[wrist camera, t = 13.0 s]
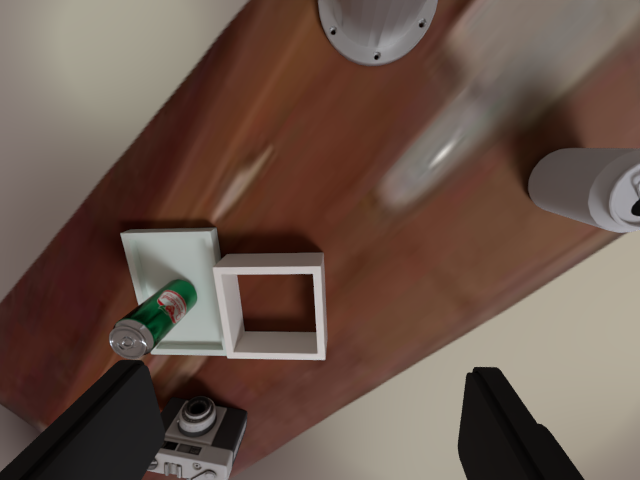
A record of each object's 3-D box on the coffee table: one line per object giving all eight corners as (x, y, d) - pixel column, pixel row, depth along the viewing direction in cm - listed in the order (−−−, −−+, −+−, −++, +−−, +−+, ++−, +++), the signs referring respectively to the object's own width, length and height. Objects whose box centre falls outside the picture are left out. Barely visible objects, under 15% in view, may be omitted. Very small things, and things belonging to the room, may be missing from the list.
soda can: (205, 299, 45) (157, 352, 33) (180, 312, 46) (125, 368, 34) (186, 272, 44) (129, 317, 32) (160, 286, 45) (96, 334, 33)
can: (538, 221, 38) (621, 253, 27) (513, 171, 36) (589, 183, 25) (599, 188, 36) (716, 208, 25) (576, 134, 35) (689, 129, 23)
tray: (130, 229, 43) (120, 233, 41) (216, 227, 42) (210, 231, 40) (158, 346, 49) (151, 354, 47) (235, 347, 48) (230, 355, 46)
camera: (250, 394, 51) (228, 451, 41) (246, 429, 53) (225, 491, 44) (170, 379, 51) (130, 432, 42) (171, 415, 54) (133, 473, 44)
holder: (227, 254, 43) (212, 267, 38) (323, 252, 42) (320, 266, 37) (239, 336, 47) (227, 358, 42) (327, 337, 46) (325, 360, 41)
